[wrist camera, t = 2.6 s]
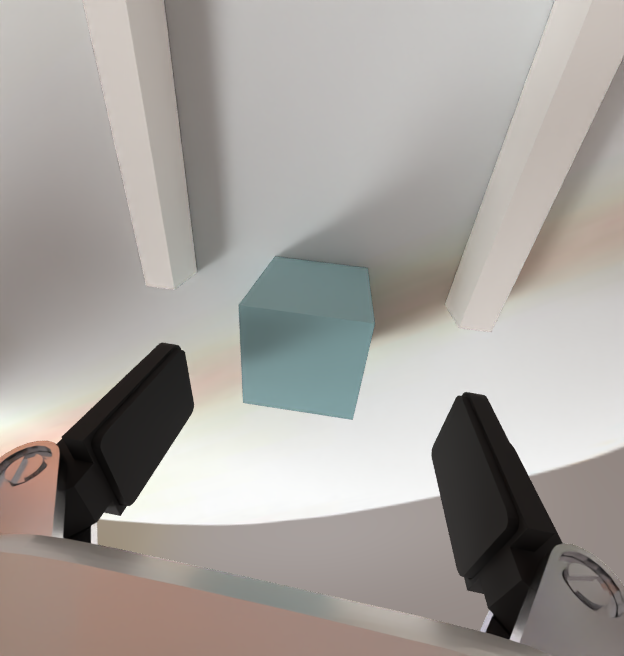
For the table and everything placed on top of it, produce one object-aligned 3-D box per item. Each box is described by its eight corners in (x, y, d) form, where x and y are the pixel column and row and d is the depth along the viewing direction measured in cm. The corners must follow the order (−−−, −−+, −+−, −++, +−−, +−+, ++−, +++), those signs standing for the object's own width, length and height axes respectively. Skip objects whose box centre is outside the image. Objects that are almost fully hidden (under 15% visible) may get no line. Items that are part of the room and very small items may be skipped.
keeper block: (352, 344, 18) (352, 419, 13) (273, 333, 18) (243, 402, 13) (367, 267, 16) (374, 323, 11) (275, 256, 16) (238, 305, 11)
